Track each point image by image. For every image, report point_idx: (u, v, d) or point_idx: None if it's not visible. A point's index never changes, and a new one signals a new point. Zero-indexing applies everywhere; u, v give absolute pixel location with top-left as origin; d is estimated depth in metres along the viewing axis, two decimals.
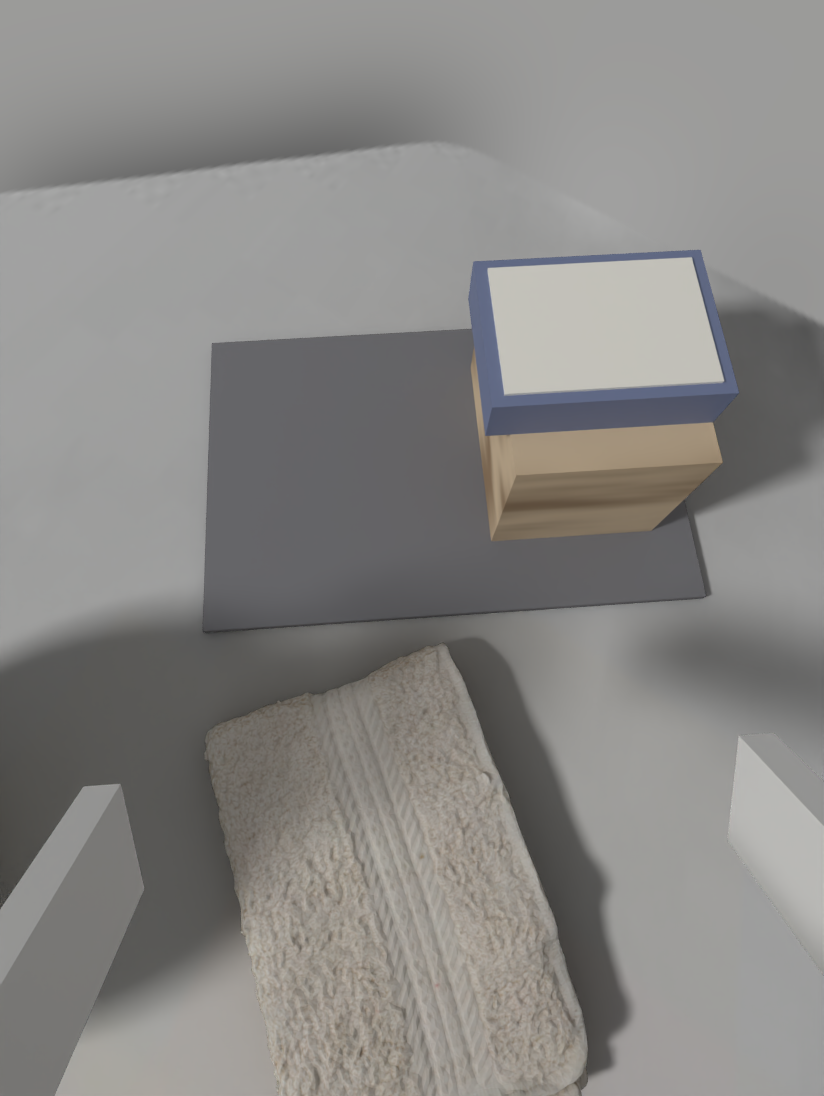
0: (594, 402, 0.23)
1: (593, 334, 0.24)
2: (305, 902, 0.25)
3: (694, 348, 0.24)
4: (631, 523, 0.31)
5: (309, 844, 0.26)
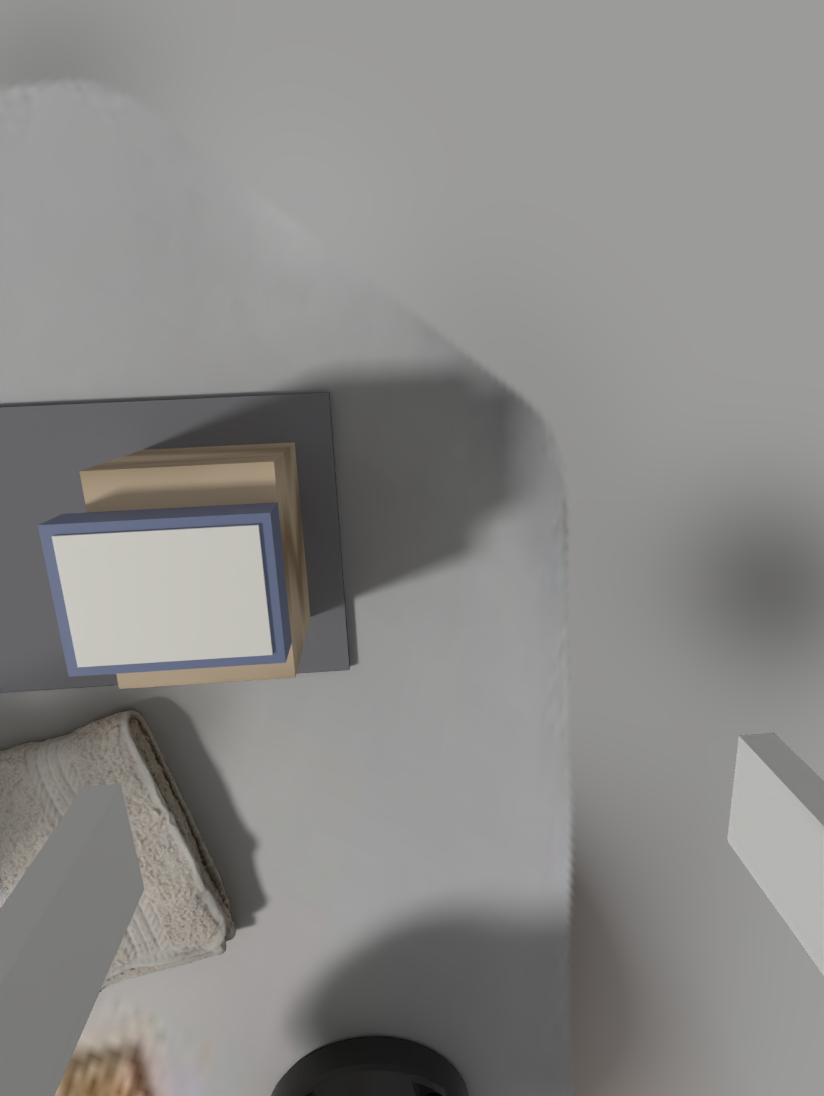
0: (159, 670, 0.27)
1: (159, 606, 0.26)
2: None
3: (251, 621, 0.27)
4: None
5: (37, 848, 0.38)
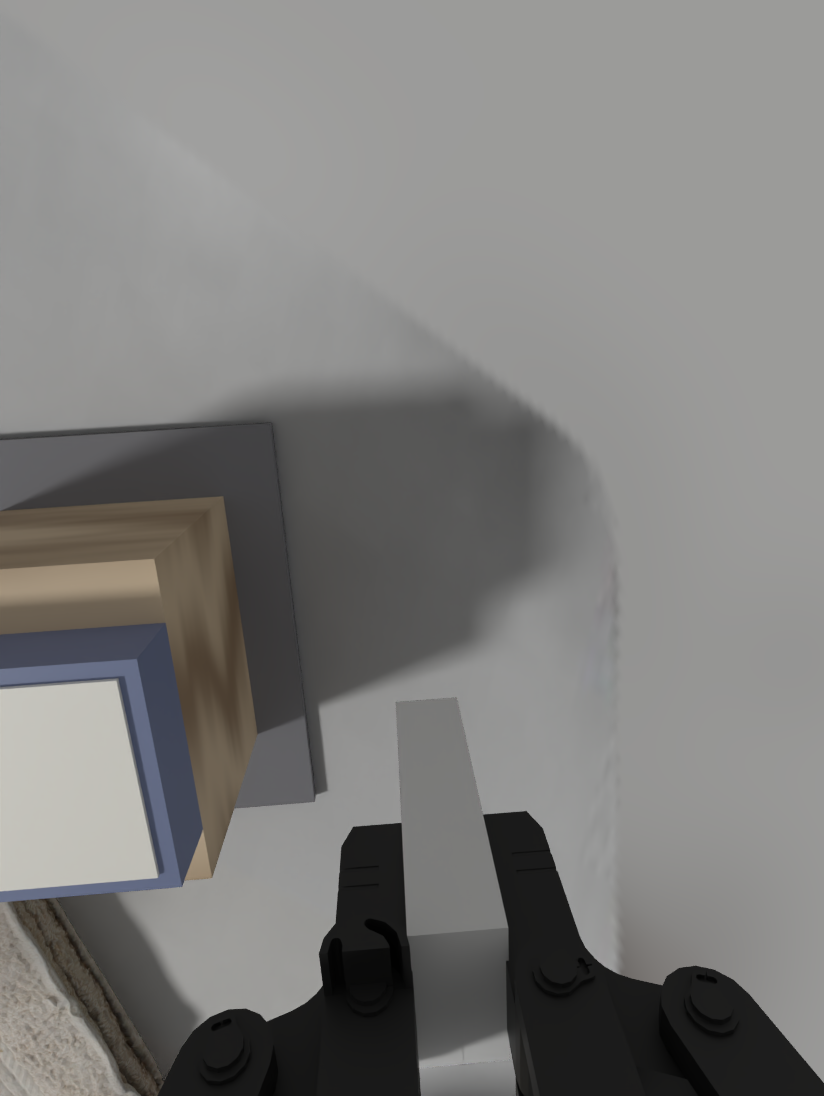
0: None
1: None
2: None
3: (119, 827, 0.16)
4: None
5: None
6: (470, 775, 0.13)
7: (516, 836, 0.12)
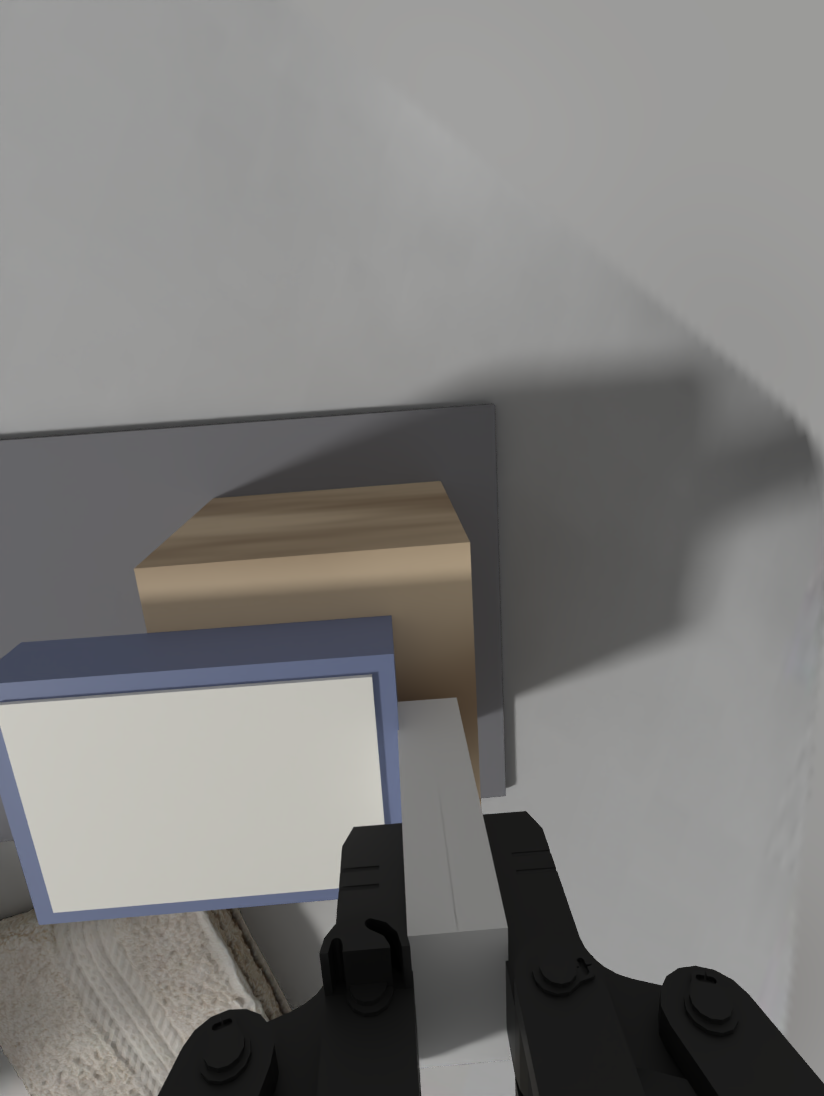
0: (195, 908, 0.16)
1: (193, 813, 0.15)
2: (78, 1085, 0.28)
3: None
4: None
5: (73, 1049, 0.27)
6: (470, 775, 0.13)
7: (516, 836, 0.12)
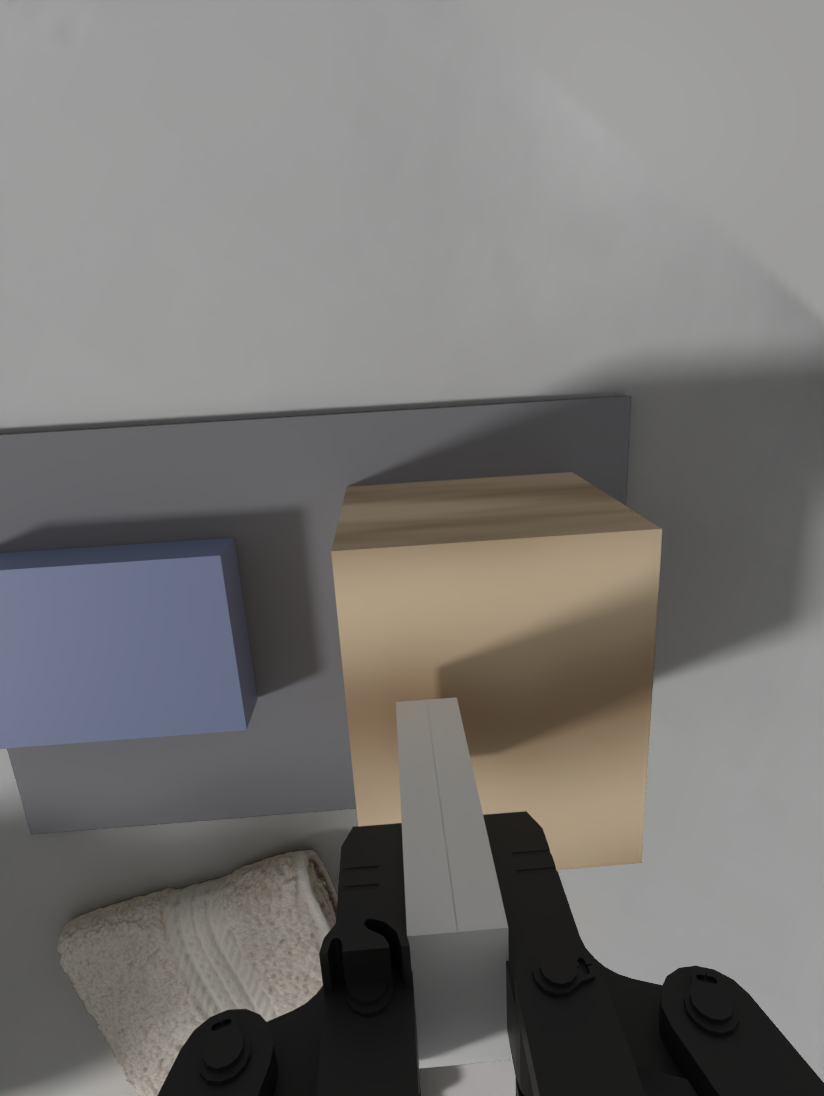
0: None
1: None
2: None
3: None
4: None
5: (176, 1036, 0.27)
6: (470, 775, 0.13)
7: (516, 836, 0.12)
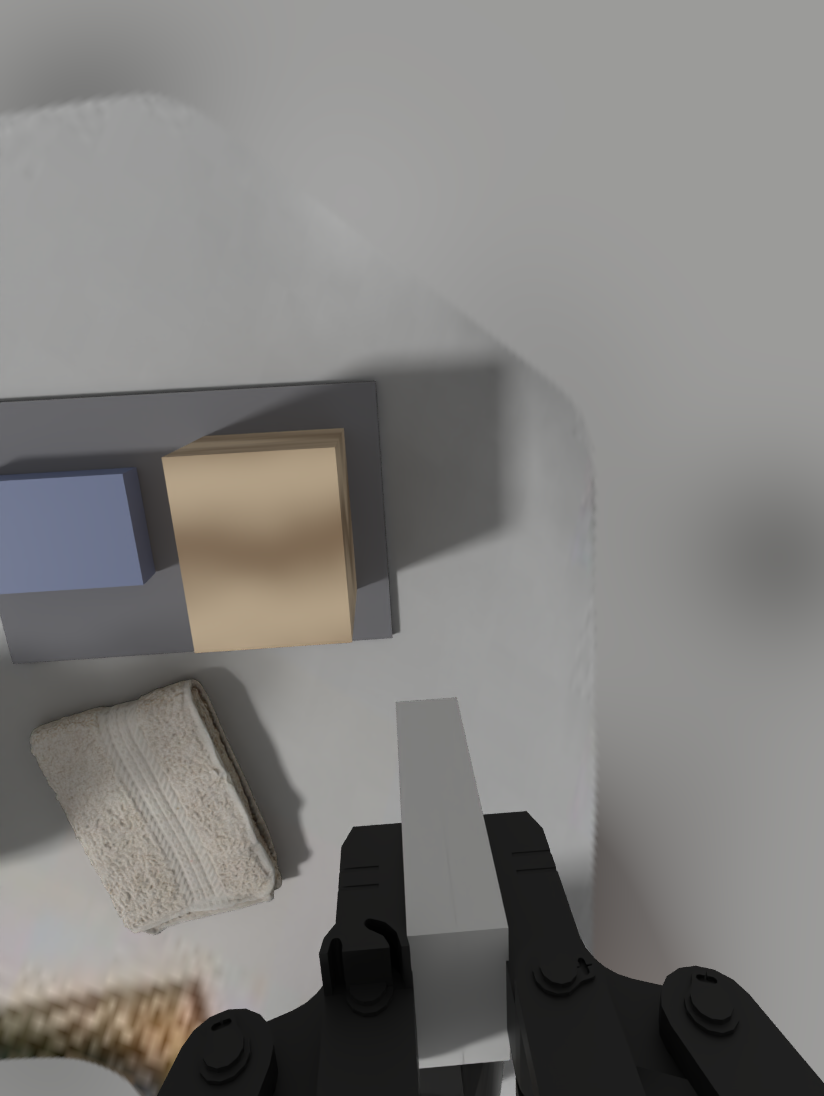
0: None
1: None
2: (109, 829, 0.42)
3: None
4: None
5: (107, 802, 0.42)
6: (470, 775, 0.13)
7: (516, 836, 0.12)
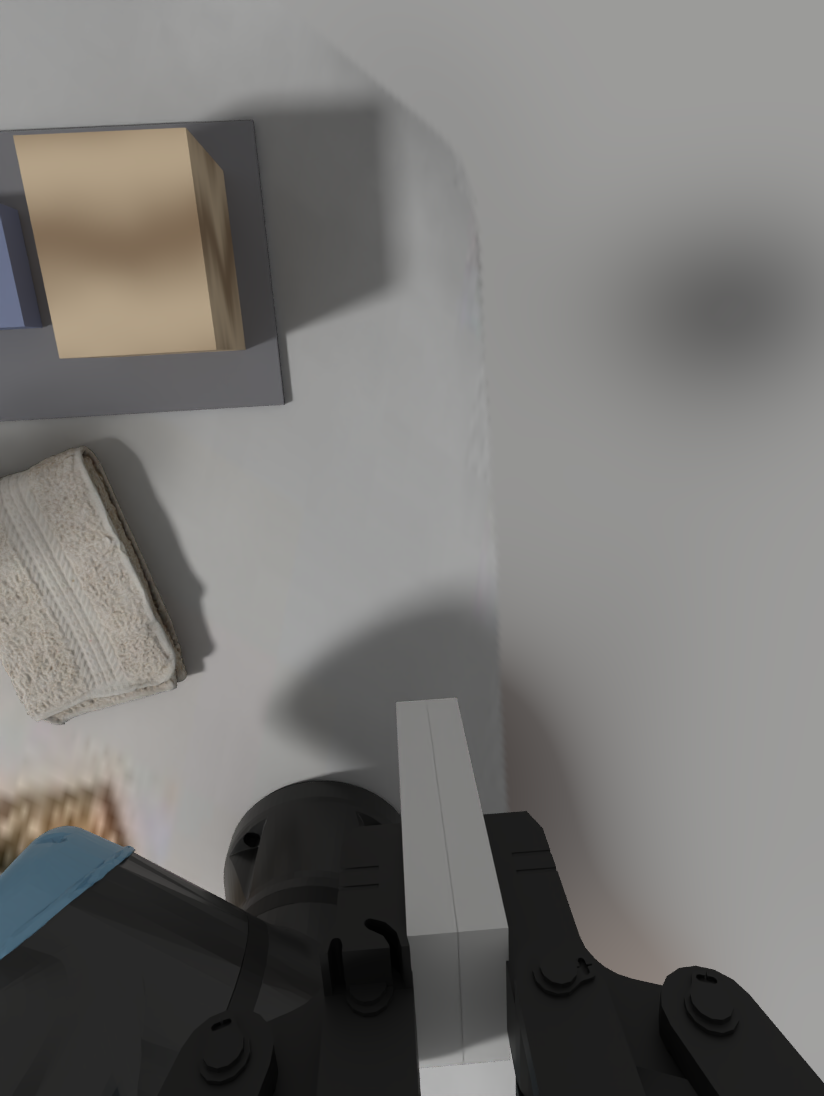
0: None
1: None
2: (5, 602, 0.43)
3: None
4: None
5: (1, 572, 0.42)
6: (470, 775, 0.13)
7: (516, 836, 0.12)
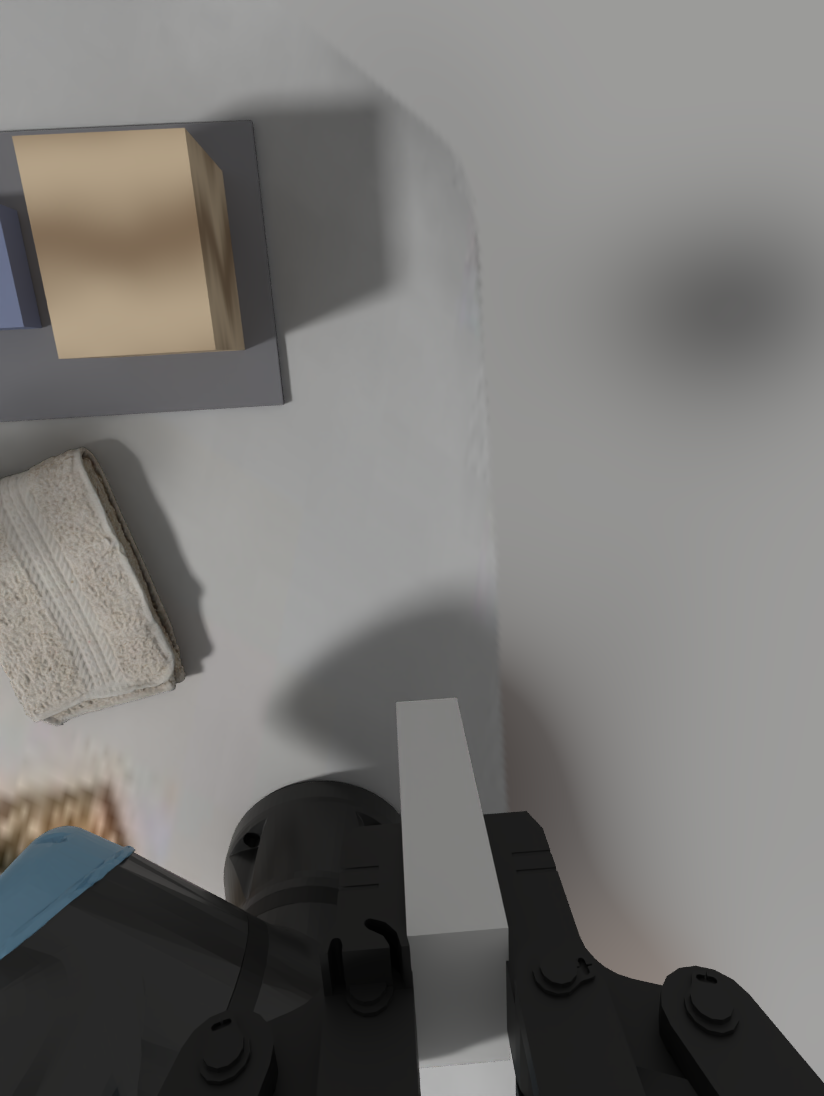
0: None
1: None
2: (4, 603, 0.43)
3: None
4: None
5: (0, 573, 0.42)
6: (470, 775, 0.13)
7: (516, 836, 0.12)
